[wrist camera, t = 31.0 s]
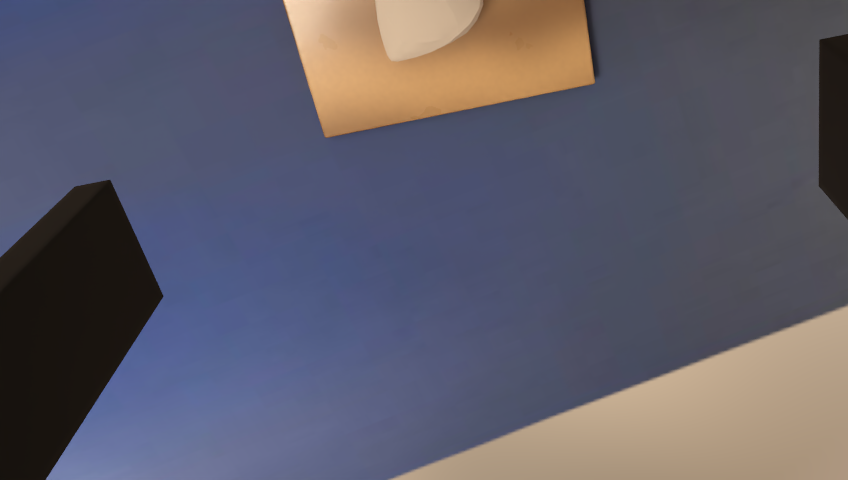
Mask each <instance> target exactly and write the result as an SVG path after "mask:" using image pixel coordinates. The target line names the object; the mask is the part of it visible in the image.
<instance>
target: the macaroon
mask: <svg viewBox="0 0 848 480" xmlns="http://www.w3.org/2000/svg"><path fill="white" fill-rule="evenodd" d="M375 5H376V12H377V20H378V25H379V29H380V34H381V38H382V41H383V44H384V47H385V50H386V53H387V56H388V57H389V59H390V60H391V61H397V62H398V61H403V60H407V59H411V58H415V57H418V56H421V55H424V54H427V53H430V52H433V51H435V50H437V49H439V48H441V47H443V46H445V45H447V44H449V43H451V42H453V41H455V40H456V39H458V38H459V37H461V36H463V35H464V34H466V33H467V32H468V31H469V30H470V28H471V27H472V26H473V25H474V23H475V22H476V21H477V19H478V17H479V14H480V12H481V9H482V7H483V0H375Z"/></svg>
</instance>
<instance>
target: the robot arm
mask: <svg viewBox="0 0 848 480" xmlns="http://www.w3.org/2000/svg"><path fill="white" fill-rule="evenodd" d="M819 187H820V188H821V189H822V190H823V191H824V193H825V194H826V195H827V196H828V197H829V198H830V199H831V201H832V202H833V203H834V204H835V205H836V206H837V208H838V209H839V210H840V211H841V212H842V213H843V215H844V216H845V217H846V218H847V219H848V34H846V35H841V36H836V37H831V38H826V39H821V40H820V55H819ZM162 298H163V294H162V292H161V290H160V288H159V285H158V283H157V281H156V279H155V277H154V274H153V272H152V270H151V268H150V266H149V264H148V261H147V259H146V257H145V255H144V253H143V250H142V248H141V246H140V244H139V242H138V240H137V237H136V235H135V233H134V231H133V229H132V226H131V224H130V222H129V220H128V218H127V216H126V213H125V211H124V209H123V207H122V205H121V202H120V200H119V198H118V196H117V194H116V191H115V189H114V187H113V185H112V183H111V181H110V180H106V181H101V182H96V183H91V184H86V185H81V186H76V187H74V188H73V189H72V190H71V191H70V192H69V193H68V194H67V195H66V196H65V197H64V198H62V199H61V200H60V201H59V202H58V203H57V204H56V205H55V206H54V207H53V208H52V209H51V210H50V211H49V212H48V213H47V214H46V215H45V216H44V217H42V218H41V219H40V220H39V221H38V222H37V223H36V224H35V225H34V226H33V227H32V228H31V229H30V230H29V231H28V232H27V233H26V234H25V235H24V236H23V237H21V238H20V239H19V240H18V241H17V242H16V243H15V244H14V245H13V246H12V247H11V248H10V249H9V250H8V251H7V252H6V253H5V254H4V255H3V256H1V257H0V480H46V478H47V477H48V475H49V474H50V472H51V470H52V469H53V467H54V466H55V464H56V463H57V461H58V460H59V458H60V456H61V455H62V453H63V452H64V450H65V449H66V447H67V446H68V444H69V442H70V441H71V439H72V438H73V436H74V435H75V433H76V432H77V430H78V428H79V427H80V425H81V424H82V422H83V421H84V419H85V418H86V416H87V414H88V413H89V411H90V410H91V408H92V407H93V405H94V404H95V402H96V400H97V399H98V397H99V396H100V394H101V393H102V391H103V390H104V388H105V386H106V385H107V383H108V382H109V380H110V379H111V377H112V376H113V374H114V372H115V371H116V369H117V368H118V366H119V365H120V363H121V362H122V360H123V358H124V357H125V355H126V354H127V352H128V351H129V349H130V348H131V346H132V344H133V343H134V341H135V340H136V338H137V337H138V335H139V334H140V332H141V330H142V329H143V327H144V326H145V324H146V323H147V321H148V320H149V318H150V316H151V315H152V313H153V312H154V310H155V309H156V307H157V306H158V304H159V302H160V301H161V299H162Z"/></svg>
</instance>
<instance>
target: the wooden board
mask: <svg viewBox="0 0 848 480" xmlns="http://www.w3.org/2000/svg"><path fill="white" fill-rule="evenodd" d="M283 3H284V6H285V10H286V13H287V16H288V19H289V23H290V26H291V29H292V32H293V36H294V39H295V42H296V45H297V49H298V52H299V55H300V58H301V61H302V65H303V68H304V71H305V74H306V78H307V81H308V84H309V87H310V91H311V94H312V97H313V100H314V104H315V107H316V110H317V113H318V117H319V120H320V123H321V126H322V130H323V133H324V136H325V138H328V137H333V136H338V135H343V134H348V133H353V132H358V131H363V130H368V129H373V128H378V127H383V126H388V125H392V124H397V123H402V122H407V121H412V120H417V119H422V118H427V117H432V116H437V115H442V114H447V113H452V112H457V111H462V110H467V109H472V108H477V107H482V106H486V105H491V104H496V103H501V102H506V101H511V100H516V99H521V98H526V97H531V96H536V95H541V94H546V93H551V92H556V91H561V90H566V89H571V88H575V87H580V86H585V85H590V84H594V83H595V78H594V70H593V63H592V56H591V48H590V41H589V33H588V26H587V18H586V11H585V4H584V0H483V7H482V9H481V12H480V14H479V17H478V19H477V21H476V22H475V23H474V25H473V26H472V27H471V28H470V30H469V31H468V32H467V33H466V34H464V35H463V36H461V37H459V38H458V39H456V40H455V41H453V42H451V43H449V44H447V45H445V46H443V47H441V48H439V49H437V50H435V51H433V52H430V53H427V54H424V55H421V56H418V57H415V58H411V59H407V60H403V61H398V62H397V61H391V60H390V59H389V57H388V56H387V53H386V50H385V47H384V44H383V41H382V38H381V34H380V29H379V25H378V20H377V12H376V5H375V0H283Z"/></svg>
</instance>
